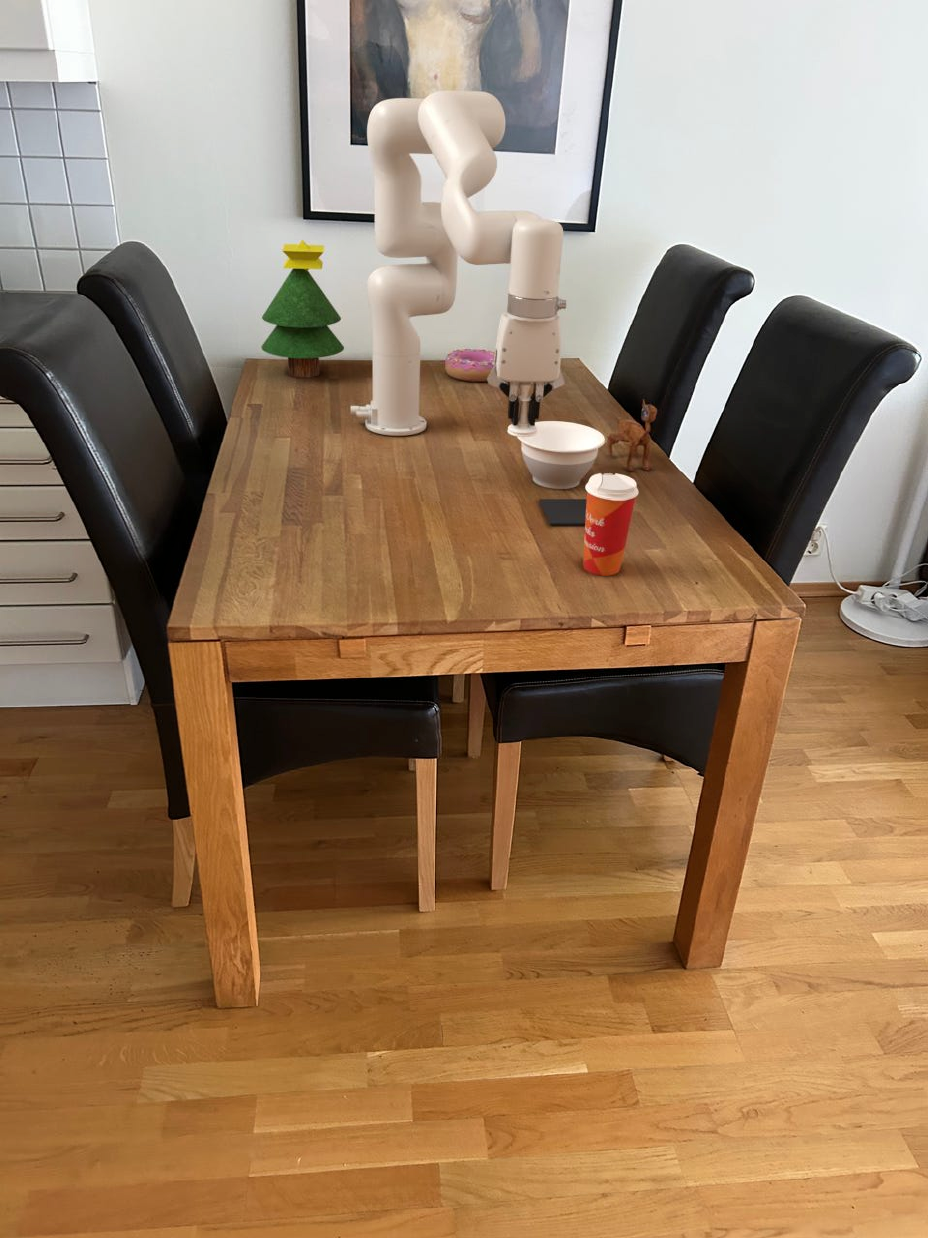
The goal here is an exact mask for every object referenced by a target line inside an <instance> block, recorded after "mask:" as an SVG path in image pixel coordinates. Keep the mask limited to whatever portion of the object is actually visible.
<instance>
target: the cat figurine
mask: <svg viewBox="0 0 928 1238" xmlns="http://www.w3.org/2000/svg"><path fill="white" fill-rule="evenodd" d="M641 404H642V409H641V414H640V415H641V416H640V418H641V420H642V421H643V422H644V423H645V428H644V427H643V426H642V424H640V423H639V422H637V421H635V420H633V419H622V420H620V421H619V422H618V428H617V431H616V432H614V433H610V434H609V435H608V436H607V440H606V445H607V452H608V455H609V456H611V457H614V454H613V445H615V444H618V443H619V442H624V443H627V445H628V454H627V459H626V467H627V470H628V472H634V471H635V470H634V468H633V457H634V455H635V456H638V455H639V454H640V453H639V447H641V446H643V454H642V459H641V467H642V469H643V470H644V471H650V470H651V469H650V467H649V456H650V452H651V449H652V448H651V447H652V441H651V436H650V432H651V424H650V423H653V422H654V421H655V420H656V417H657V414H658V409H657V408H656V407H655V406H654V405H652V404H651V403H650V404H646V402H645V399H644V398H643V399H642V403H641Z"/></svg>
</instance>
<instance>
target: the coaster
mask: <svg viewBox="0 0 928 1238" xmlns="http://www.w3.org/2000/svg"><path fill="white" fill-rule="evenodd" d="M586 503H587V498H540V499H539V504H540V507H541V508H542V511H543V513H544V516H545V517H546V519H547V522H548V524H549V526H550V527H585V520H586Z"/></svg>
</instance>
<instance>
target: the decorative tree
mask: <svg viewBox="0 0 928 1238" xmlns="http://www.w3.org/2000/svg"><path fill="white" fill-rule="evenodd" d="M281 251H282V252H283V254H285V255H286V257H287V258H286V260H285V261H284V265H283V269H291V271H290V272H289V274H288V275H287V276H286V279H285V280H284V282H283V283H282V285H281V286H280V288H279V289H278V291H277V293H276V294H275V296H274V298H273V299H272V300H271V302H270V304H269V305H268V307H267V308H266V310H265V311H264V313H263V314H262V316H261V319H262V320H263V321H264V322H266V323H268V324H272V325H274V326H275V327H274V328H273V329H272V331H271V332H270V334H269V335H268V336H267V337H266V339H265V341H264V342H263V343H262V345H261V350H262V351H263V352H265V353H267V354H269V355H272V356H276V357H280V358H281V357H282V358H287V365H288V375H289V376H291V377H294V378H314V377H317V376H319V375H320V358H326V357H331V356H335V355H338V354H340V353H342V352H343V351H344V349H345V346H344V345H343V344H342V342H341V341H340V340H339V338H338V337H337V336H336V335H335V333H334V332H333V331H332V329H330V326H331V325H334V324H337V323H339V322H340V321H341V320H342V317H341V316H340V314H339V312H338V311H337V310H336V308H335V307H334V305H333V304H332V303H331V301H330V300H329V299H328V297H327V296H326V294H325V293H324V291H323V290H322V289H321V287H320V285H319V284H318V283H317V281H316V280H315V278H314V277H313V276H312V274H311V273H310V271H309V270H322V269H323V263H324V262H323V260H322V259H320V257H321V256H322V254H324V252H325V245H323V244H322V245H321V244H307V243H306V242H305V241H304V239H302V240H301V241H300V242H299V243H298V244H293V243H292V244H291V243H289V244H288V243H285V244H284V245H283V247H282V250H281Z"/></svg>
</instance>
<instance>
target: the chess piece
mask: <svg viewBox="0 0 928 1238" xmlns="http://www.w3.org/2000/svg"><path fill="white" fill-rule="evenodd" d="M532 386H533V383H532V382H518V387H519V391H520V394H521V395H519V396H518V401H519V402H520V406H519V415H518V425H516V426H513V424H512V423H511V424H509V425H508V426H507V430H506V431H507V433H508V434H509V435H511V436H514V437H516V438H517V437H531V436H534V435H536V434H537V427H536V426H531V425H530V423H529V421H528V402H529V401H530V400H531V397H530V396H529V394H530V390H531V388H532Z"/></svg>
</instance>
